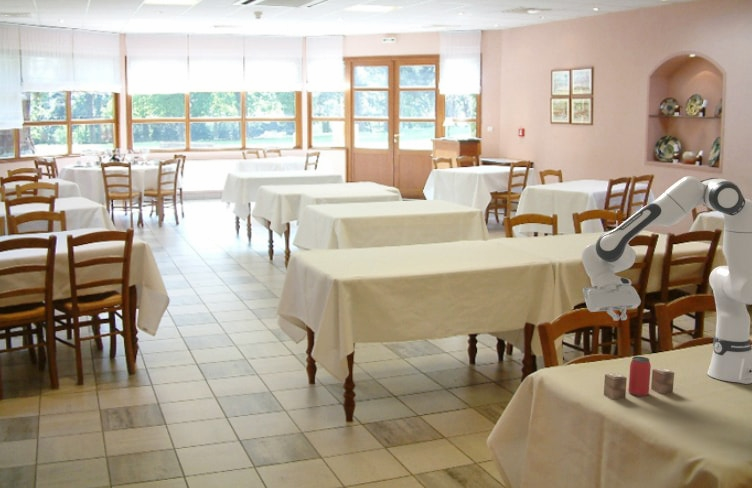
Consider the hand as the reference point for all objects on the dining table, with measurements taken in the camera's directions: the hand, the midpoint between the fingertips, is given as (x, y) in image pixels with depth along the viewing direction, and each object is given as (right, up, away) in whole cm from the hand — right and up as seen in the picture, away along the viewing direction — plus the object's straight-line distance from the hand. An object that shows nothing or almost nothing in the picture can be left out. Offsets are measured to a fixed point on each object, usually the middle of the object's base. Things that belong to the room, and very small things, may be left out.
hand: (620, 319), depth 306 cm
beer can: (+4, -24, -8) cm, 26 cm away
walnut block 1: (-5, -25, -11) cm, 27 cm away
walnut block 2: (+13, -24, -4) cm, 27 cm away
